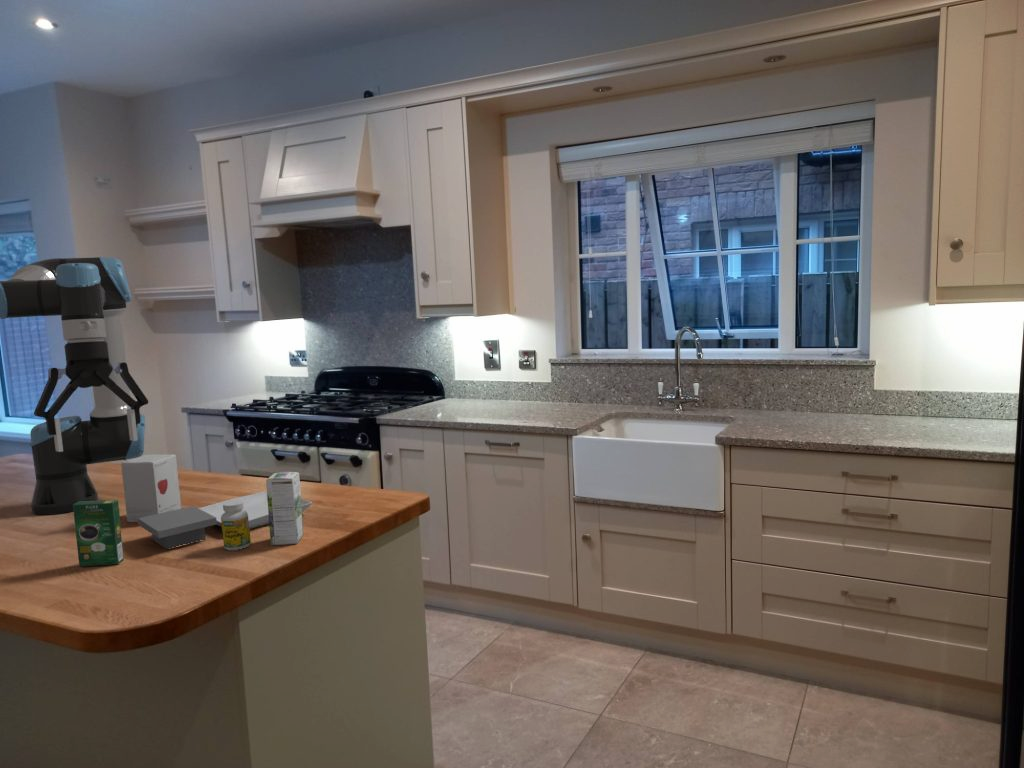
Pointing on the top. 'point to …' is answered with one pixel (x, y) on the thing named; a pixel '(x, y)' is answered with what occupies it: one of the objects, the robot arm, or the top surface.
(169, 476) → the supplement box
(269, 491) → the syrup box
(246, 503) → the salad plate
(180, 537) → the grey stand
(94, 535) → the coffee box
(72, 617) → the top surface
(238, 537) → the supplement bottle
